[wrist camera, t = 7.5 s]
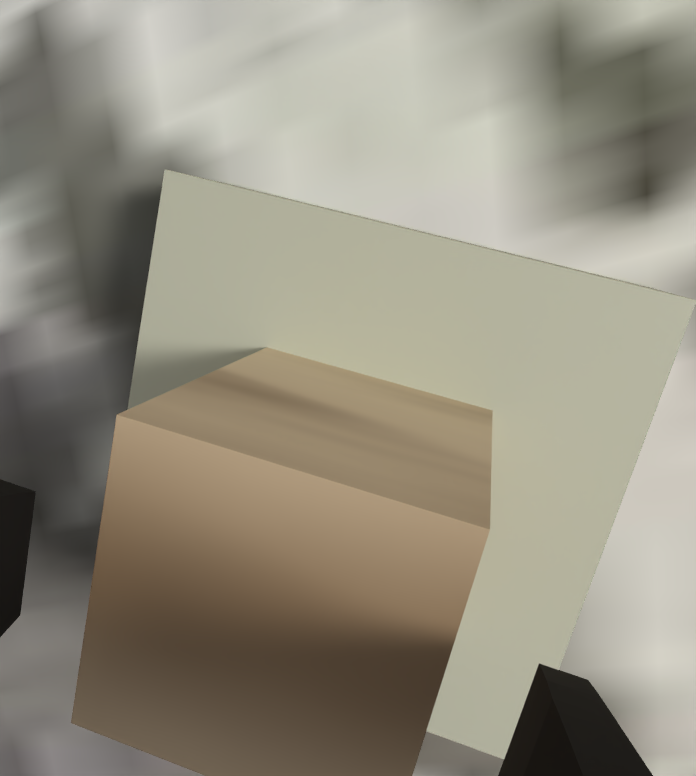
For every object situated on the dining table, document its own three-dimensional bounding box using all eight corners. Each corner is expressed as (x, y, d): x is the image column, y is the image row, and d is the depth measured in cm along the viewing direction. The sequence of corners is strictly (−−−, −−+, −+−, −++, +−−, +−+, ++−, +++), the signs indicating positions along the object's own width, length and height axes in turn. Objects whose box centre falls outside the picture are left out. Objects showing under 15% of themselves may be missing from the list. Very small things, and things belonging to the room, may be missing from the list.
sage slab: (518, 683, 18) (522, 766, 15) (154, 557, 20) (95, 610, 17) (659, 290, 15) (696, 300, 12) (220, 182, 17) (164, 169, 14)
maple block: (430, 616, 15) (388, 847, 9) (225, 548, 16) (70, 722, 10) (492, 410, 14) (489, 529, 8) (266, 347, 14) (116, 414, 9)
